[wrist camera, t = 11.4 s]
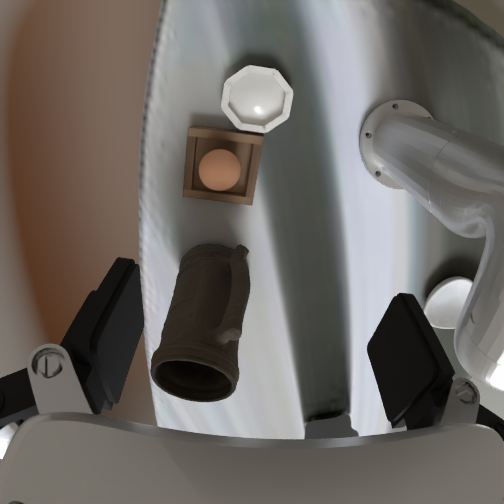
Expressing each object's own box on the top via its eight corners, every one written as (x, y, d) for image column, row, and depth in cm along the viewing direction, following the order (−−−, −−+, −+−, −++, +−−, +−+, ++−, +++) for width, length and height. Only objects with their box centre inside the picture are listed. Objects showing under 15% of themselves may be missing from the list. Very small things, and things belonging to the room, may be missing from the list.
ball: (245, 148, 36) (242, 157, 32) (239, 185, 39) (235, 199, 34) (205, 143, 36) (196, 151, 32) (201, 180, 38) (192, 193, 34)
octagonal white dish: (294, 73, 32) (297, 73, 30) (283, 134, 36) (285, 136, 34) (228, 63, 31) (227, 62, 29) (219, 124, 35) (218, 126, 34)
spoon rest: (407, 310, 52) (421, 337, 46) (439, 260, 46) (458, 285, 40) (475, 323, 55) (488, 344, 49) (503, 284, 49) (519, 304, 43)
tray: (263, 134, 36) (263, 137, 34) (252, 199, 41) (252, 205, 39) (191, 125, 35) (188, 128, 34) (186, 191, 40) (182, 196, 38)
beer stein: (231, 309, 51) (223, 414, 34) (171, 287, 49) (139, 389, 32) (272, 236, 43) (283, 343, 26) (202, 207, 41) (167, 305, 24)
